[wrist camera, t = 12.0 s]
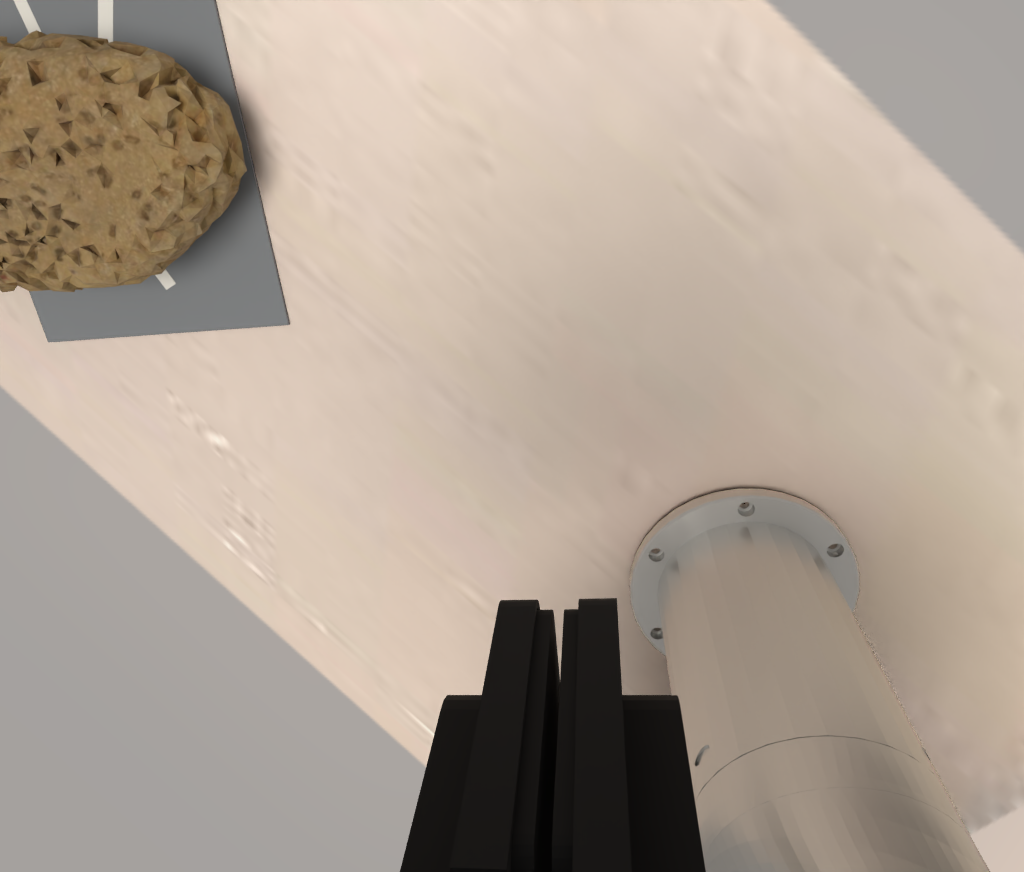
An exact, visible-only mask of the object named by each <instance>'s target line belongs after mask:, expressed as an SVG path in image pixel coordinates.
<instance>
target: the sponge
mask: <svg viewBox="0 0 1024 872" xmlns="http://www.w3.org/2000/svg"><path fill="white" fill-rule="evenodd" d="M246 171H247V169H246V165H245V162H244V156H243V149H242V143H241V140H240V137H239V134H238V131H237V129H236V126H235V123H234V120H233V117H232V114H231V110H230V107H229V105H228V104H227V103H226V102H225V101H224V99H223V98H222V97H221V96H220V95H219V94H218V93H217V92H215V91H213V90H211V89H209V88H207V87H205V86H203V85H201V84H200V83H198V82H196V81H195V80H194V78H193V77H192V76H191V75H190V74H189V73H188V71H187V70H186V69H184V68H183V67H182V66H181V65H179V64H178V63H176V62H175V59H174V58H172V57H170V56H169V55H167V54H165V53H162V52H159V51H156V50H153V49H150V48H148V47H145V46H141V45H137V44H133V43H128V42H120V41H113V42H108V39H103V38H96V37H89V36H82V35H70V34H56V33H51V34H48V35H47V34H44V33H42V32H39V31H37V30H36V31H34V32H31V33H30V34H28V35H27V36H25V37H24V38H23V39H21V40H20V41H18V42H17V43H15V44H10V43H8V42H7V37H4V36H0V290H1V291H2V292H8V291H14V290H15V288H16V287H17V285H18V286H20V287H22V288H24V289H26V290H28V291H44V290H52V291H59V292H75V290H83V288H105V287H115V286H122V285H131V284H141V283H142V282H143V281H144V280H146V279H147V278H148V277H150V276H151V275H157V274H162V273H163V271H164V270H165V269H166V268H167V266H168V265H170V264H171V263H172V262H174V261H175V260H176V259H177V258H179V257H180V256H181V255H183V254H184V253H185V252H186V251H187V250H188V249H189V248H190V246H191V245H192V244H193V243H194V242H195V240H196V239H198V238H199V237H200V236H201V235H202V234H204V233H205V232H206V231H207V230H208V229H209V227H210V226H211V224H212V222H214V221H215V220H216V219H217V218H219V217H220V216H221V215H222V214H223V213H224V211H225V210H226V209H227V208H228V206H229V204H230V203H231V201H232V199H233V197H234V196H235V195H236V193H237V191H238V189H239V185H240V180H241V177H242V176H243V174H244V173H245V172H246Z"/></svg>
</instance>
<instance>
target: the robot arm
mask: <svg viewBox="0 0 1024 872" xmlns="http://www.w3.org/2000/svg"><path fill="white" fill-rule="evenodd" d="M745 502H747V503H746V504H743V505H742V503H745ZM656 548H657V549H656ZM629 588H630V598H631V606H632V609H633V613H634V616H635V620H636V622H637V623H638V625H639V627H640V629H641V631H642V633H643V635H644V636H645V637H646V638H647V639H648V640H649V642H650V643H651V644H652V645H653V646H654V647H655V648H656V649H657V650H658V651H659V652H661V653H662V654H663V655H665V656H666V660H667V667H668V674H669V681H670V688H671V695H622V686H621V668H620V650H619V632H618V613H617V598H610V599H579V607H578V609H571V610H564V622H563V641H562V660H561V679H560V677H559V666H558V655H557V644H556V633H555V622H554V613H553V610H540V606H539V601H538V600H501V601H500V603H499V606H498V612H497V617H496V622H495V628H494V633H493V638H492V644H491V649H490V654H489V660H488V665H487V670H486V676H485V681H484V686H483V692H482V695H447V696H446V698H445V699H444V701H443V704H442V707H441V711H440V715H439V719H438V723H437V727H436V731H435V735H434V739H433V743H432V747H431V751H430V755H429V759H428V763H427V767H426V771H425V774H424V779H423V782H422V787H421V790H420V795H419V798H418V802H417V806H416V810H415V814H414V818H413V822H412V826H411V830H410V834H409V838H408V842H407V846H406V850H405V854H404V858H403V862H402V866H401V870H400V872H990V871H989V869H988V867H987V865H986V863H985V862H984V860H983V858H982V856H981V855H980V853H979V851H978V849H977V848H976V846H975V844H974V842H973V840H972V838H971V837H970V835H969V833H968V831H967V829H966V827H965V825H964V824H963V822H962V820H961V818H960V816H959V814H958V812H957V810H956V808H955V807H954V805H953V803H952V801H951V799H950V797H949V795H948V793H947V791H946V789H945V787H944V785H943V784H942V782H941V780H940V778H939V776H938V774H937V772H936V770H935V768H934V767H933V765H932V763H931V761H930V759H929V757H928V755H927V753H926V751H925V750H924V748H923V746H922V744H921V742H920V740H919V738H918V736H917V734H916V733H915V731H914V729H913V727H912V725H911V723H910V721H909V719H908V717H907V715H906V714H905V712H904V710H903V708H902V706H901V704H900V702H899V700H898V698H897V697H896V695H895V693H894V691H893V689H892V687H891V685H890V683H889V681H888V680H887V678H886V676H885V674H884V672H883V670H882V668H881V666H880V664H879V663H878V661H877V659H876V657H875V655H874V653H873V651H872V649H871V647H870V646H869V644H868V642H867V640H866V638H865V636H864V634H863V632H862V630H861V628H860V627H859V625H858V623H857V621H856V619H855V617H854V615H853V612H854V610H855V608H856V604H857V600H858V595H859V591H860V572H859V568H858V564H857V560H856V556H855V554H854V552H853V550H852V548H851V546H850V545H849V543H848V541H847V539H846V538H845V536H844V535H843V533H842V532H841V530H840V529H839V528H838V526H837V525H836V523H835V522H833V521H832V520H831V519H830V518H829V517H828V516H827V515H826V514H825V513H824V512H822V511H821V510H820V509H818V508H816V507H815V506H813V505H811V504H810V503H808V502H806V501H804V500H803V499H800V498H797V497H794V496H791V495H789V494H786V493H783V492H777V491H772V490H766V489H732V490H726V491H719V492H714V493H711V494H708V495H705V496H702V497H699V498H696V499H693V500H691V501H690V502H688V503H686V504H684V505H682V506H680V507H678V508H676V509H674V510H673V511H672V512H671V513H669V514H668V515H667V516H665V517H664V518H663V519H662V520H660V521H659V522H658V523H657V524H656V525H655V526H654V527H653V529H652V530H651V531H650V532H649V533H648V534H647V535H646V537H645V538H644V540H643V542H642V543H641V545H640V547H639V549H638V550H637V552H636V554H635V558H634V561H633V564H632V567H631V572H630V585H629Z"/></svg>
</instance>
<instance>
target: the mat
mask: <svg viewBox="0 0 1024 872" xmlns="http://www.w3.org/2000/svg"><path fill="white" fill-rule="evenodd" d="M36 30H37V31H39V32H42V33H44V34H47V35H48V34H51V33H56V34H70V35H82V36H89V37H96V38H103V39H108V42H113V41H120V42H128V43H133V44H137V45H141V46H145V47H148V48H150V49H153V50H156V51H159V52H162V53H165V54H167V55H169V56H170V57H172V58H174V59H175V62H176V63H178V64H179V65H181V66H182V67H183V68H184V69H186V70H187V71H188V73H189V74H190V75H191V76H192V77H193V78H194V80H195V81H196V82H198V83H200V84H201V85H203V86H205V87H207V88H209V89H211V90H213V91H215V92H217V93H218V94H219V95H220V96H221V97H222V98H223V99H224V101H225V102H226V103H227V104H228V105H229V107H230V110H231V114H232V117H233V120H234V123H235V126H236V129H237V131H238V134H239V137H240V140H241V143H242V149H243V156H244V162H245V165H246V169H247V171H246V172H245V173H244V174H243V176H242V177H241V180H240V185H239V189H238V191H237V193H236V195H235V196H234V197H233V199H232V201H231V203H230V204H229V206H228V208H227V209H226V210H225V211H224V213H223V214H222V215H221V216H220V217H219V218H217V219H216V220H215V221H214V222H212V224H211V226H210V227H209V229H208V230H207V231H206V232H205V233H204V234H202V235H201V236H200V237H199V238H198V239H196V240H195V242H194V243H193V244H192V245H191V246H190V248H189V249H188V250H187V251H186V252H185V253H184V254H183V255H181V256H180V257H179V258H177V259H176V260H175V261H174V262H172V263H171V264H170V265H168V266H167V268H166V269H165V270H164V271H163V273H162V274H157V275H151V276H150V277H148V278H147V279H146V280H144V281H143V282H142V283H141V284H131V285H122V286H115V287H105V288H83V290H75V292H59V291H52V290H44V291H29V292H30V295H31V298H32V300H33V303H34V306H35V308H36V311H37V314H38V316H39V319H40V322H41V324H42V327H43V330H44V332H45V335H46V338H47V340H48V342H60V341H74V340H88V339H101V338H115V337H129V336H143V335H156V334H170V333H184V332H198V331H212V330H225V329H239V328H253V327H267V326H281V325H289V324H290V323H289V319H288V314H287V310H286V306H285V301H284V297H283V293H282V288H281V284H280V280H279V275H278V271H277V267H276V262H275V258H274V253H273V249H272V245H271V240H270V236H269V232H268V227H267V223H266V219H265V214H264V210H263V206H262V201H261V197H260V193H259V188H258V184H257V180H256V175H255V171H254V166H253V162H252V158H251V153H250V149H249V145H248V140H247V136H246V132H245V127H244V123H243V119H242V114H241V110H240V106H239V101H238V97H237V93H236V88H235V84H234V79H233V75H232V71H231V66H230V62H229V58H228V53H227V49H226V45H225V40H224V36H223V32H222V27H221V23H220V19H219V14H218V10H217V6H216V1H215V0H0V36H4V37H7V42H8V43H10V44H15V43H17V42H18V41H20V40H21V39H23V38H24V37H25V36H27V35H28V34H30V33H31V32H34V31H36Z"/></svg>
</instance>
